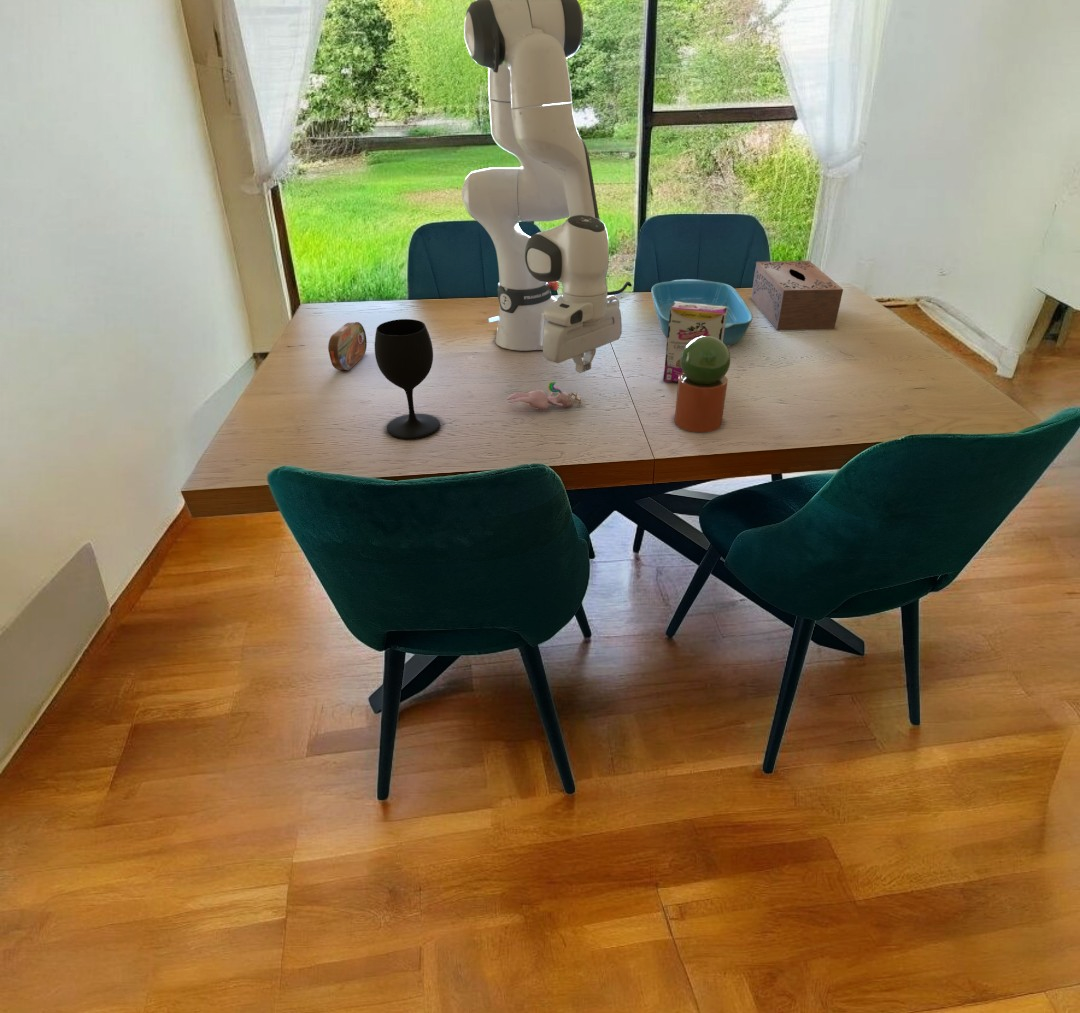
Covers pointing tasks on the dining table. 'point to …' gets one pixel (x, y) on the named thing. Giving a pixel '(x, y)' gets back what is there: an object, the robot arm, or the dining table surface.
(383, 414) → the dining table surface
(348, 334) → the tin
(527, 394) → the rabbit figure
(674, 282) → the casserole dish
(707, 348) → the potted herb
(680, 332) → the candy bar box
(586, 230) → the robot arm
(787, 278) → the tissue box cover
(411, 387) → the wine glass
